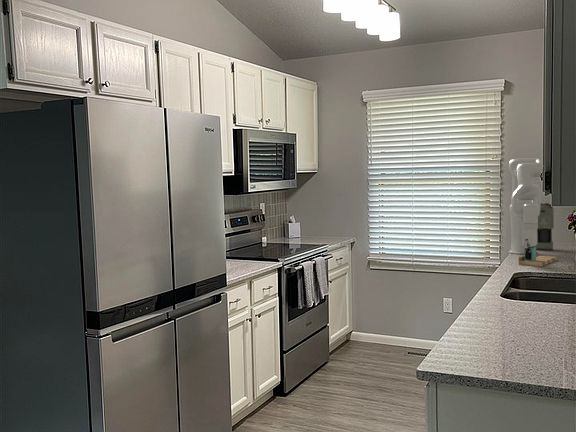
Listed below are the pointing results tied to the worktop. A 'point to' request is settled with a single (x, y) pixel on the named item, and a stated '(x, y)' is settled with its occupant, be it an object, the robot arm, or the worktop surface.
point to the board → (537, 260)
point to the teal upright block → (533, 254)
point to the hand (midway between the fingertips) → (530, 258)
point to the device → (545, 227)
